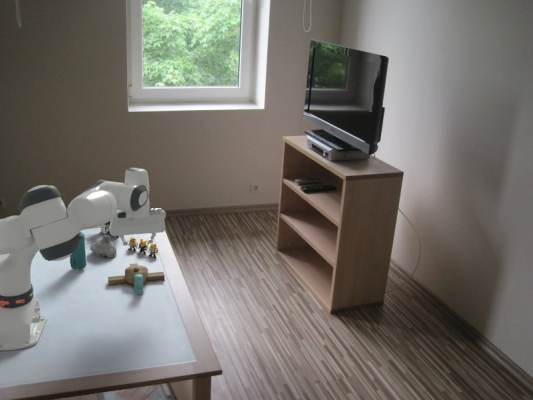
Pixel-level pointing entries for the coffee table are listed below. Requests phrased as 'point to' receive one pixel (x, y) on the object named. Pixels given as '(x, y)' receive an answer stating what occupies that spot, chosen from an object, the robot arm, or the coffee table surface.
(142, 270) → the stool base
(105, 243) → the grey clay mound
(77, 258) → the beverage bottle
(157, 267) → the coffee table surface
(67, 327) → the coffee table surface
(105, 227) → the black-topped pedestal
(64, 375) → the coffee table surface
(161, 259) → the coffee table surface
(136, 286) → the teal crank handle
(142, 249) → the figurine set
